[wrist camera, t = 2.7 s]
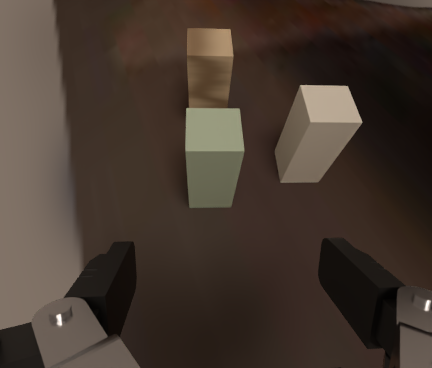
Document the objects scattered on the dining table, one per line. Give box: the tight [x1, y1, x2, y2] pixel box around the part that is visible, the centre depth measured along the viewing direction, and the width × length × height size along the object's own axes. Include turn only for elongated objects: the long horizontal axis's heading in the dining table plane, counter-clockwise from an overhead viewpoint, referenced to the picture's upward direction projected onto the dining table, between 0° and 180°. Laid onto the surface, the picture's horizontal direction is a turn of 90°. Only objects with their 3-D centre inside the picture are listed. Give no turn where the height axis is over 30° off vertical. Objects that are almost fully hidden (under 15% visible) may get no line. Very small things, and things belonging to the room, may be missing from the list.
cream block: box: [275, 85, 362, 183], centre depth 29 cm, size 4×4×10 cm
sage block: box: [186, 108, 244, 208], centre depth 26 cm, size 4×4×10 cm
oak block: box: [187, 28, 233, 108], centre depth 32 cm, size 4×4×10 cm
